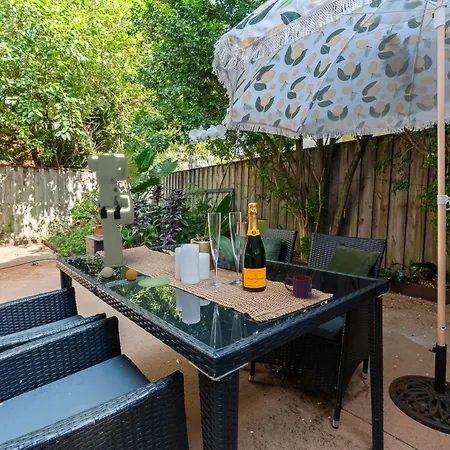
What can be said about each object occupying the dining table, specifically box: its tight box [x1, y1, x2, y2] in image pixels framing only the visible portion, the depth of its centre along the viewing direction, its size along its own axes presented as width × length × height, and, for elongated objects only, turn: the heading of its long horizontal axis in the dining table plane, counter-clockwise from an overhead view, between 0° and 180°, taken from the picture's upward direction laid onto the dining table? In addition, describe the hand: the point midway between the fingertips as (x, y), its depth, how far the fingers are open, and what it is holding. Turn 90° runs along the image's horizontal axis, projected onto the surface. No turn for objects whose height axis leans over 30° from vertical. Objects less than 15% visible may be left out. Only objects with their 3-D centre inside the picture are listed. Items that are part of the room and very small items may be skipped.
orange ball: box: [125, 268, 138, 281], centre depth 140 cm, size 5×5×5 cm
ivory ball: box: [100, 267, 114, 279], centre depth 145 cm, size 5×5×5 cm
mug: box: [283, 275, 313, 300], centre depth 115 cm, size 7×10×7 cm
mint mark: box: [137, 276, 171, 288], centre depth 136 cm, size 14×14×1 cm
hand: (110, 218), depth 142 cm, fingers open, 9 cm apart
